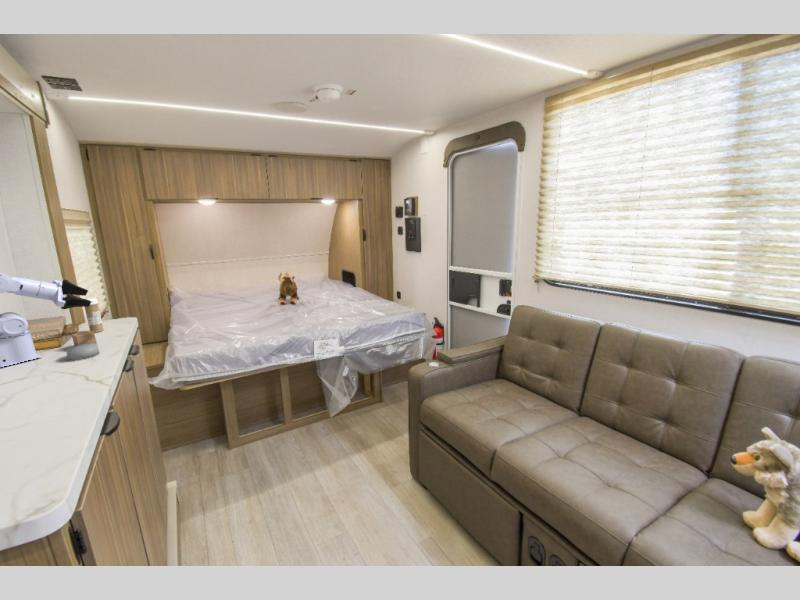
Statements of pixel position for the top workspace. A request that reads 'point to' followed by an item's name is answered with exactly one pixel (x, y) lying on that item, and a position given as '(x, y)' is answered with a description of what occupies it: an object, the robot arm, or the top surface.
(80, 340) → the walnut block
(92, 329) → the sprinkles bottle
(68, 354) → the grey rounded dome
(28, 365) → the top surface
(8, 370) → the top surface
